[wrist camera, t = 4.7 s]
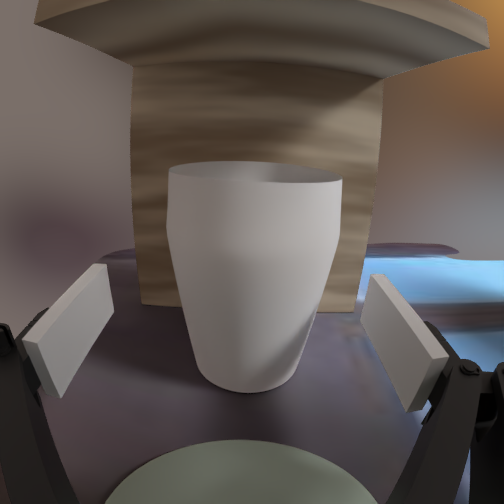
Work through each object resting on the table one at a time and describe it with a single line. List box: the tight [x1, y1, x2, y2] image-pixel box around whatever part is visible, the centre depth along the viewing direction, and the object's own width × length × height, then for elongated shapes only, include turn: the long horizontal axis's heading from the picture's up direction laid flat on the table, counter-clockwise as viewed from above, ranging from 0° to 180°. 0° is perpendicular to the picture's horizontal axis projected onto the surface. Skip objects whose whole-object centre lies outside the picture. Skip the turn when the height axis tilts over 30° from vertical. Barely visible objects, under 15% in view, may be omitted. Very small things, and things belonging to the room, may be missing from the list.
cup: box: [166, 161, 342, 393], centre depth 18 cm, size 9×9×12 cm
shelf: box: [34, 0, 490, 312], centre depth 17 cm, size 14×18×20 cm
